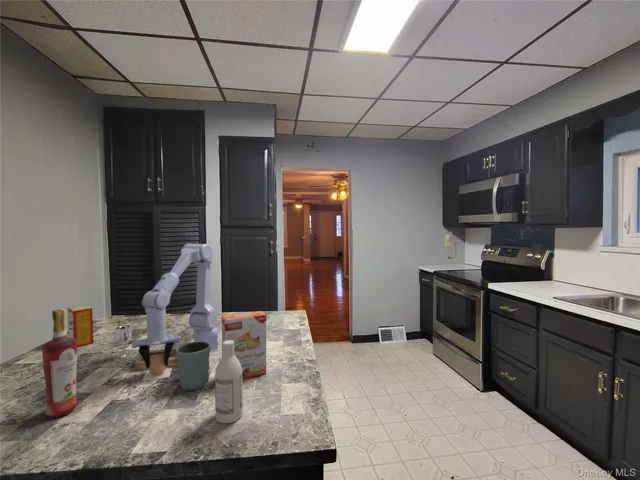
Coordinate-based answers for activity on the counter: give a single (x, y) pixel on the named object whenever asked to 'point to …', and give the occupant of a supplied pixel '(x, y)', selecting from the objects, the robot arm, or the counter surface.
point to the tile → (157, 375)
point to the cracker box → (247, 340)
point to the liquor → (60, 368)
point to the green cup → (193, 364)
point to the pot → (157, 361)
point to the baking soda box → (80, 324)
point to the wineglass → (122, 336)
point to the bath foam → (228, 386)
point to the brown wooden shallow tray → (140, 363)
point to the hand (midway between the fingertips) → (157, 365)
